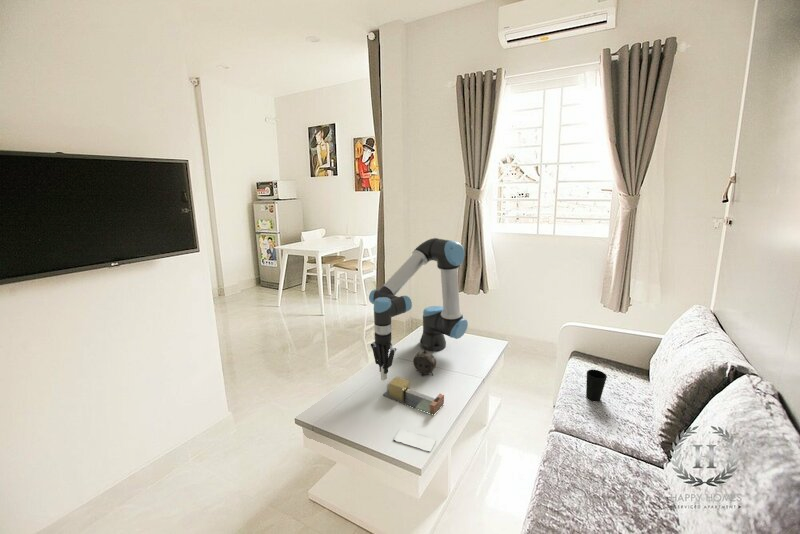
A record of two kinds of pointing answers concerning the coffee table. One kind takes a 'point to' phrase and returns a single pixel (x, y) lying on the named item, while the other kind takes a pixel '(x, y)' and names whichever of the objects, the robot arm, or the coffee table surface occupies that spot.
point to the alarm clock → (424, 362)
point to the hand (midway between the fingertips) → (383, 378)
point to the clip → (398, 387)
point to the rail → (419, 400)
